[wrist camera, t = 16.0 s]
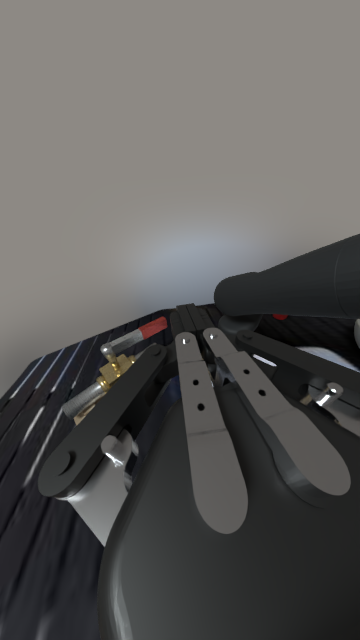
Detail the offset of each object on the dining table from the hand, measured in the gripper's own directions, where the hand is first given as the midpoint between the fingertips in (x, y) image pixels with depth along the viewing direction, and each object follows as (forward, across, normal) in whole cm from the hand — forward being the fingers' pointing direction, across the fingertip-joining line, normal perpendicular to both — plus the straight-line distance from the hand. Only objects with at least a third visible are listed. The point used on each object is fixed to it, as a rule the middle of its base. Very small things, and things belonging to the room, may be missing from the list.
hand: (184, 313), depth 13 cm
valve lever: (+24, +10, +24) cm, 36 cm away
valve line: (+20, +18, +36) cm, 45 cm away
